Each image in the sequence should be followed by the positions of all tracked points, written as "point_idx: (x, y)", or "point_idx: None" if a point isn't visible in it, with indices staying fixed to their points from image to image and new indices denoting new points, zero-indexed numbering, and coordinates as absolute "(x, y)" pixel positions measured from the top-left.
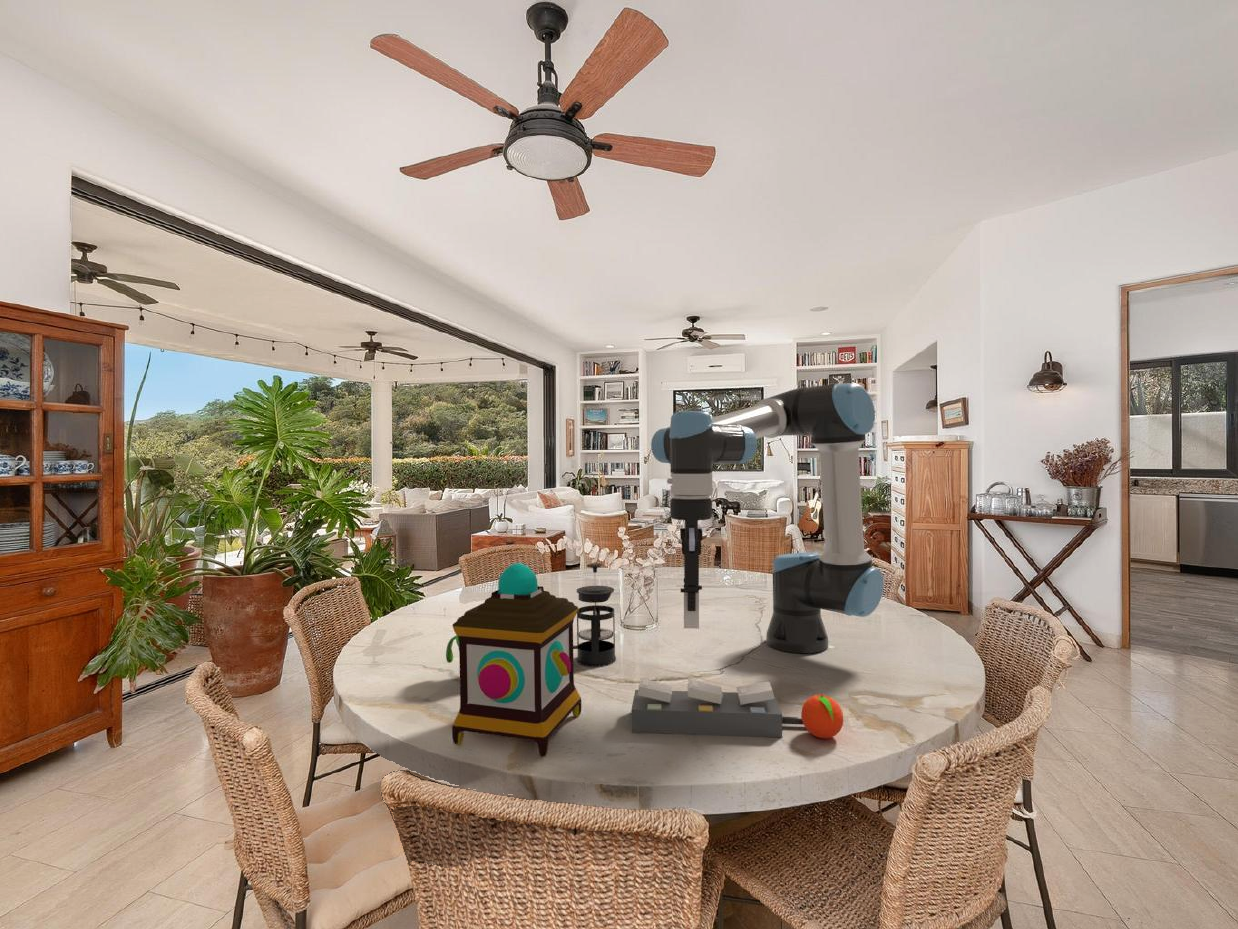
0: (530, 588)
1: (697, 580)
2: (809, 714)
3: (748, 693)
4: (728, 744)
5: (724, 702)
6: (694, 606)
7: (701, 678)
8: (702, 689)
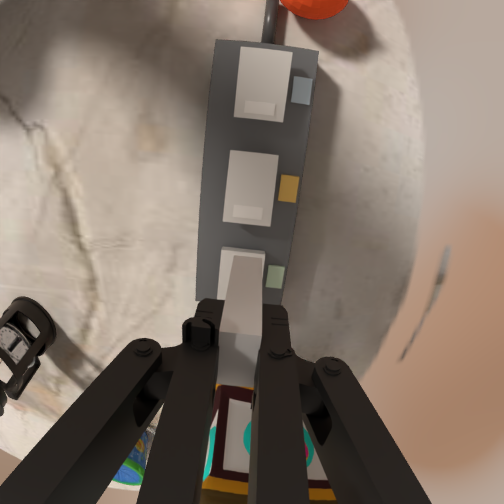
0: None
1: (366, 406)
2: (335, 9)
3: (281, 101)
4: (330, 151)
5: (258, 145)
6: (287, 320)
7: (63, 163)
8: (266, 197)
